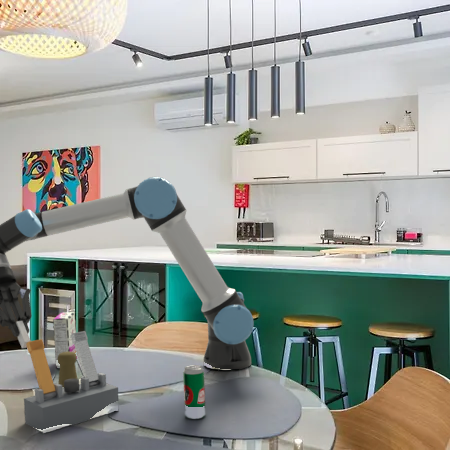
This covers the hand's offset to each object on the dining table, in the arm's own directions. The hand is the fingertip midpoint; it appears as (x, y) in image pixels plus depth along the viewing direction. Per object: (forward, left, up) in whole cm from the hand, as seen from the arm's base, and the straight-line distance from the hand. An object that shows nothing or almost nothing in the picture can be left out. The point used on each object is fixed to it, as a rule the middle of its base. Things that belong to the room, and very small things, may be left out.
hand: (26, 344), depth 148 cm
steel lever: (-15, -7, -11) cm, 19 cm away
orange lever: (-10, +4, -11) cm, 15 cm away
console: (-12, -1, -17) cm, 21 cm away
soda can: (-41, -10, -18) cm, 46 cm away
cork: (+2, -18, -18) cm, 25 cm away
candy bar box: (+21, -42, -18) cm, 50 cm away
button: (-12, -1, -11) cm, 17 cm away
